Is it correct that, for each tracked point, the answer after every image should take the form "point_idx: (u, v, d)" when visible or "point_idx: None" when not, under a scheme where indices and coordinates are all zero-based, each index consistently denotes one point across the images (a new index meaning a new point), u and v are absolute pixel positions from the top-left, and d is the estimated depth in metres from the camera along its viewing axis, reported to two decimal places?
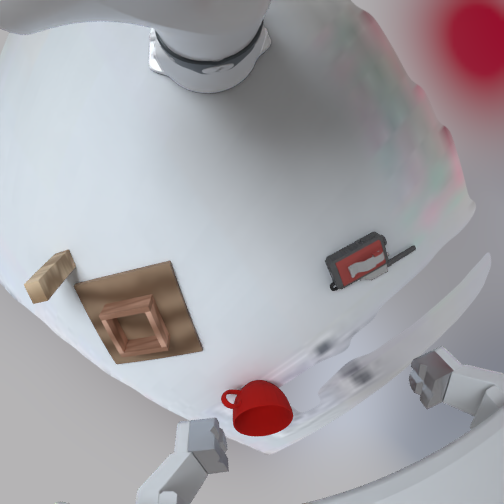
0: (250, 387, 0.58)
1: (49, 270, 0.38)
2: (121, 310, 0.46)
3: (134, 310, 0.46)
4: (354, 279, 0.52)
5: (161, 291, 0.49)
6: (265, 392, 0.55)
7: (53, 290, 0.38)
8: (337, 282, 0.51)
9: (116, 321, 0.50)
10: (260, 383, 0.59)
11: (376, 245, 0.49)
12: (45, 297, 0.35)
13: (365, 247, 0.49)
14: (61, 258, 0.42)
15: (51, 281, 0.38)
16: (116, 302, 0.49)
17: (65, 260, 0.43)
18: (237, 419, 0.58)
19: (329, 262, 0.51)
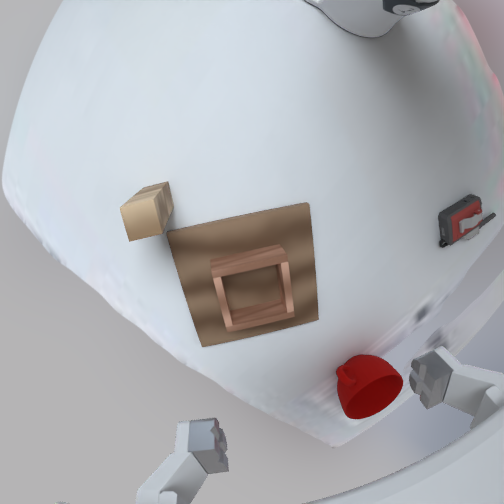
0: (360, 361, 0.50)
1: (159, 193, 0.29)
2: (246, 262, 0.38)
3: (267, 260, 0.38)
4: (460, 236, 0.46)
5: (292, 240, 0.42)
6: (379, 363, 0.48)
7: (164, 222, 0.29)
8: (449, 237, 0.45)
9: (223, 283, 0.42)
10: (367, 356, 0.52)
11: (476, 205, 0.44)
12: (159, 228, 0.27)
13: (470, 205, 0.44)
14: (165, 187, 0.34)
15: (162, 209, 0.29)
16: (229, 255, 0.41)
17: (167, 192, 0.35)
18: None
19: (444, 216, 0.44)
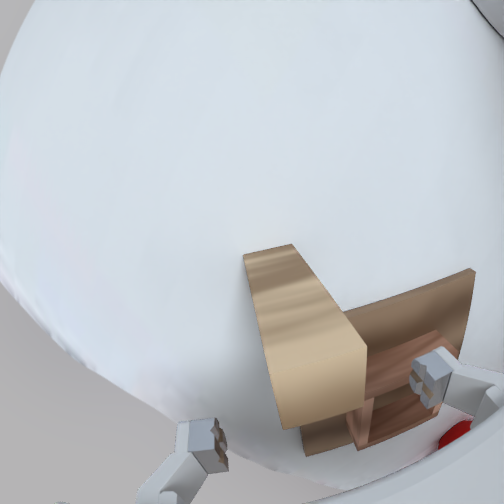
0: None
1: None
2: (410, 370, 0.20)
3: None
4: None
5: (449, 322, 0.24)
6: None
7: None
8: None
9: None
10: None
11: None
12: (359, 399, 0.10)
13: None
14: None
15: None
16: (375, 356, 0.23)
17: None
18: None
19: None
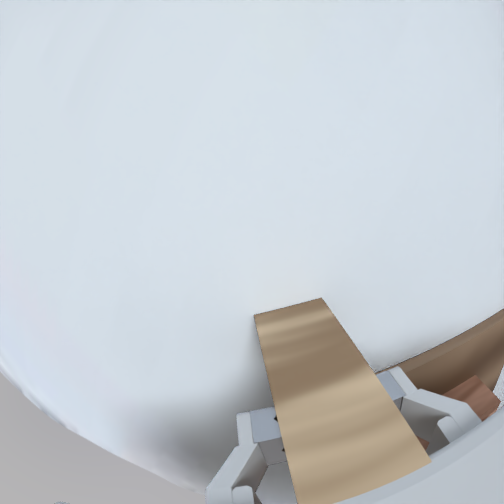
0: None
1: None
2: None
3: None
4: None
5: (489, 364, 0.17)
6: None
7: None
8: None
9: None
10: None
11: None
12: None
13: None
14: None
15: None
16: None
17: None
18: None
19: None
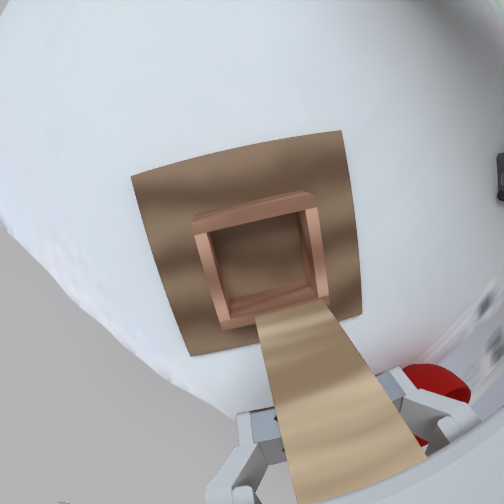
0: (416, 372, 0.32)
1: None
2: (249, 208, 0.23)
3: (282, 204, 0.23)
4: None
5: (320, 185, 0.26)
6: (442, 373, 0.30)
7: None
8: None
9: (215, 252, 0.27)
10: (425, 365, 0.34)
11: None
12: None
13: None
14: None
15: None
16: (224, 207, 0.26)
17: None
18: None
19: None
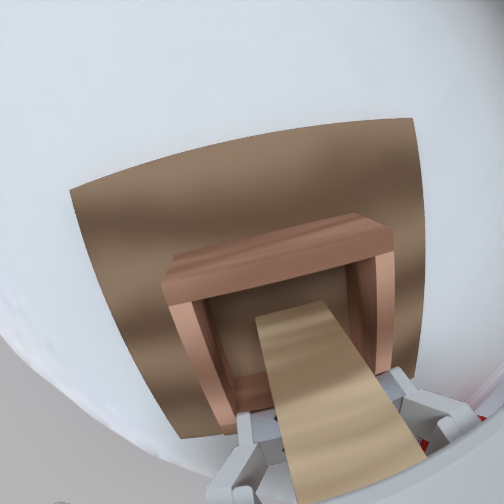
0: None
1: None
2: (273, 254, 0.12)
3: (337, 247, 0.12)
4: None
5: (383, 204, 0.15)
6: None
7: None
8: None
9: (211, 318, 0.16)
10: None
11: None
12: None
13: None
14: None
15: None
16: (224, 243, 0.15)
17: None
18: None
19: None
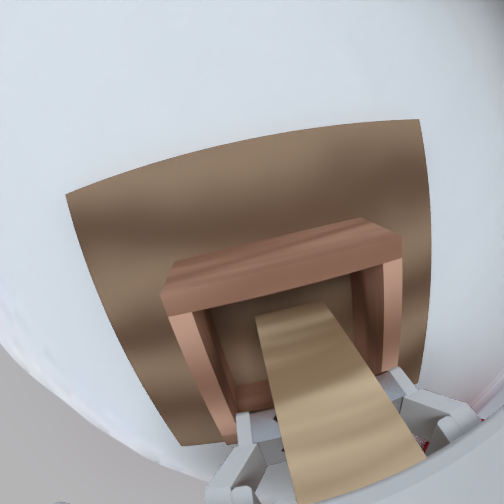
0: None
1: None
2: (278, 262, 0.11)
3: (344, 255, 0.11)
4: None
5: (389, 208, 0.15)
6: None
7: None
8: None
9: (212, 326, 0.15)
10: None
11: None
12: None
13: None
14: None
15: None
16: (225, 250, 0.14)
17: None
18: None
19: None
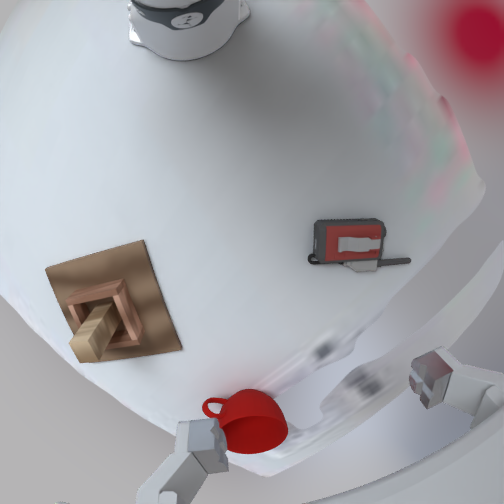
0: (237, 395, 0.49)
1: (97, 327, 0.36)
2: (88, 294, 0.39)
3: (101, 293, 0.39)
4: (339, 258, 0.44)
5: (133, 275, 0.43)
6: (254, 401, 0.46)
7: (102, 348, 0.36)
8: (320, 251, 0.43)
9: (86, 310, 0.43)
10: (249, 391, 0.50)
11: (375, 229, 0.43)
12: (96, 357, 0.33)
13: (364, 225, 0.43)
14: (108, 311, 0.41)
15: (100, 339, 0.36)
16: (86, 287, 0.42)
17: (111, 313, 0.42)
18: None
19: (319, 223, 0.43)
